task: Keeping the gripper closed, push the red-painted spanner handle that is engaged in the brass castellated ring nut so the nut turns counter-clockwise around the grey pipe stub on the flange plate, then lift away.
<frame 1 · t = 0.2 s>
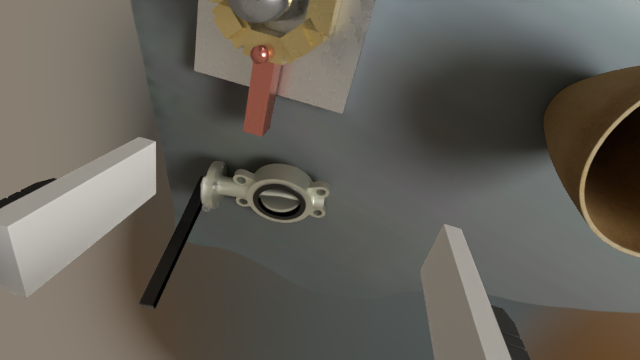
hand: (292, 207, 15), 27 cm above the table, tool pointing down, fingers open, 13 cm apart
ring nut: (268, 40, 33), point 5 cm above the table, hinge at 0.0°
butterfly valve: (272, 182, 47), on the table
plant pot: (579, 110, 36), on the table
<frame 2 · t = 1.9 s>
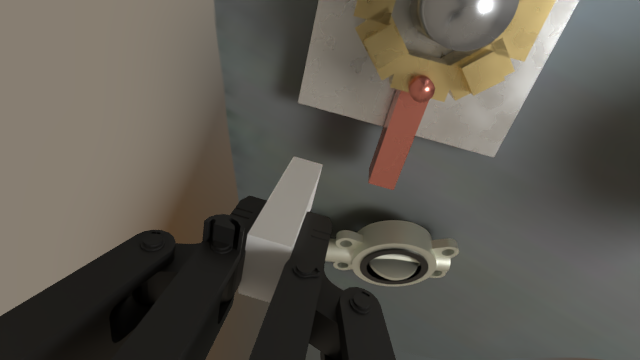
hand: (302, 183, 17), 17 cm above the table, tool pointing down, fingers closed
ring nut: (423, 67, 24), point 5 cm above the table, hinge at 0.0°
butterfly valve: (373, 236, 38), on the table
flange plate: (434, 6, 27), on the table
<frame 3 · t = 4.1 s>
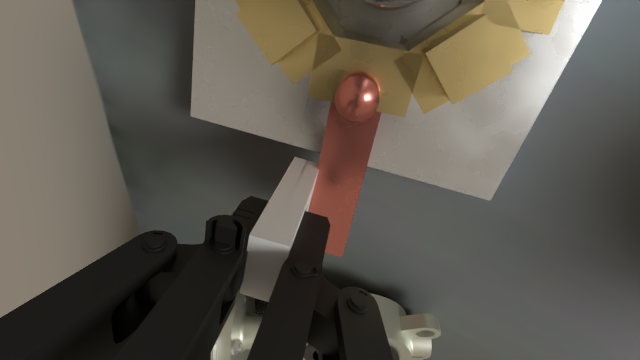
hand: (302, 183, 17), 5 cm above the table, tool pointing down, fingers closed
ring nut: (367, 59, 14), point 6 cm above the table, hinge at 2.7°, touching gripper
butterfly valve: (329, 304, 28), on the table
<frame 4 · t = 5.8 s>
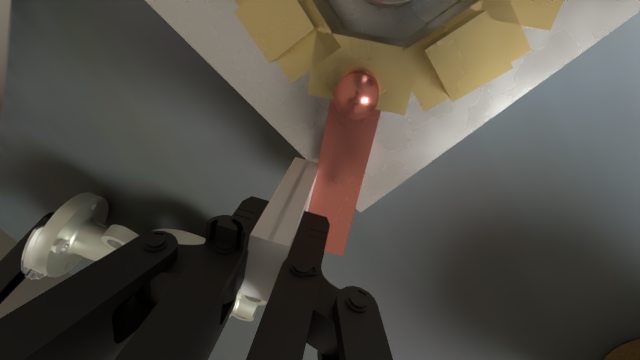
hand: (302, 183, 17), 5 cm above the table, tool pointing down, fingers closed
ring nut: (366, 56, 14), point 6 cm above the table, hinge at 34.9°, touching gripper
butterfly valve: (182, 243, 28), on the table
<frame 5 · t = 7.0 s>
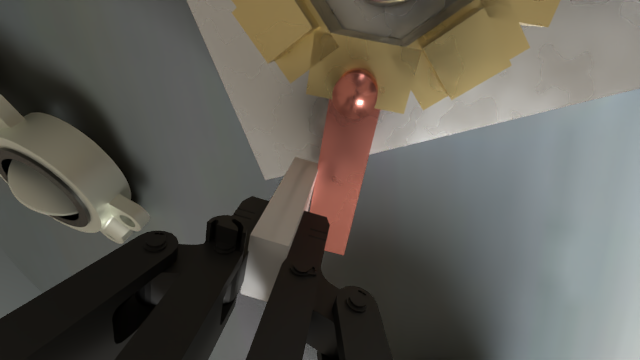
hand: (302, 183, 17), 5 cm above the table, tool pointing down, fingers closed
ring nut: (365, 56, 14), point 6 cm above the table, hinge at 61.9°, touching gripper
butterfly valve: (71, 140, 25), on the table
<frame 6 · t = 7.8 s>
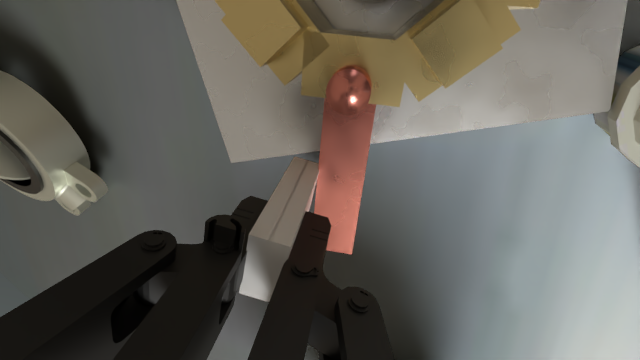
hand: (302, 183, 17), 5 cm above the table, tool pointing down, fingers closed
ring nut: (357, 52, 14), point 5 cm above the table, hinge at 73.4°, touching gripper
butterfly valve: (30, 103, 24), on the table
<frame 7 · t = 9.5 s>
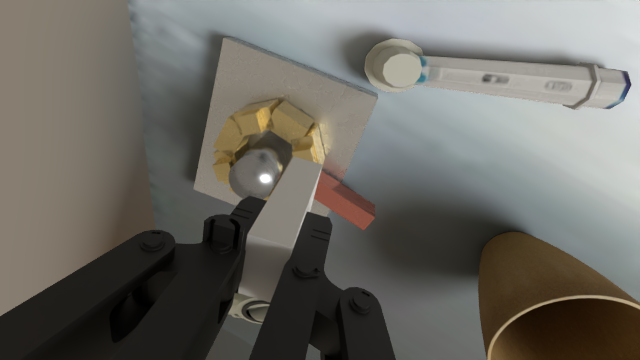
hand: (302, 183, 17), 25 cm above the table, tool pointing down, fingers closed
ring nut: (299, 176, 38), point 6 cm above the table, hinge at 77.0°
butterfly valve: (259, 290, 55), on the table
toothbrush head: (480, 72, 36), on the table
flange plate: (281, 142, 43), on the table
plant pot: (509, 251, 45), on the table
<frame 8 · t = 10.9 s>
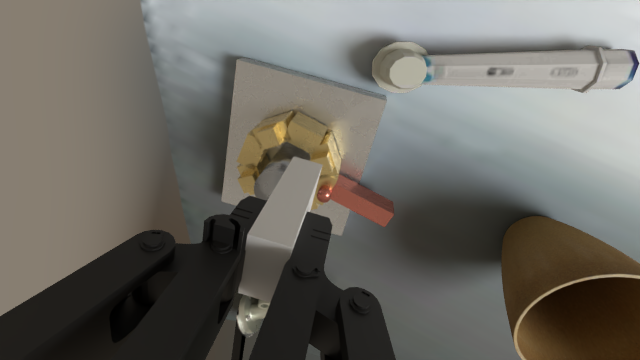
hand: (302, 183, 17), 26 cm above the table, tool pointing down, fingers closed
ring nut: (318, 181, 40), point 5 cm above the table, hinge at 77.0°
butterfly valve: (291, 292, 58), on the table
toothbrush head: (485, 65, 37), on the table
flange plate: (298, 149, 45), on the table
plant pot: (531, 235, 45), on the table
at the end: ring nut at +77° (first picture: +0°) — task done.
